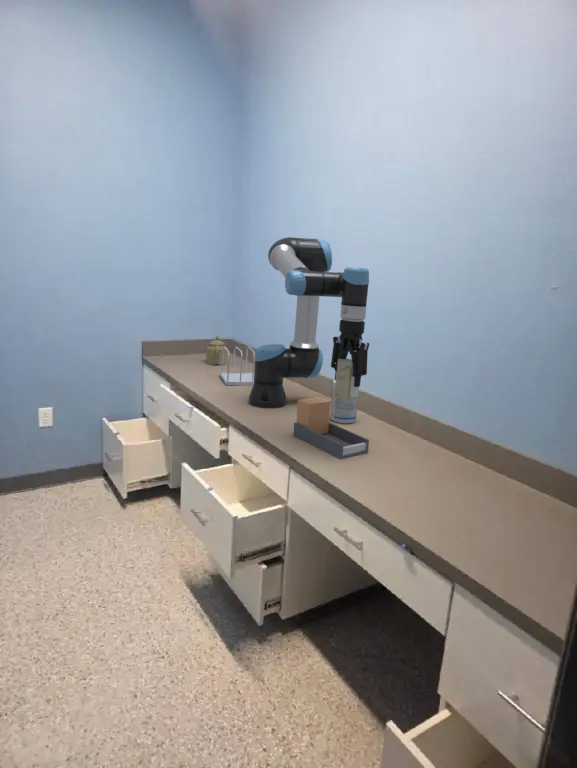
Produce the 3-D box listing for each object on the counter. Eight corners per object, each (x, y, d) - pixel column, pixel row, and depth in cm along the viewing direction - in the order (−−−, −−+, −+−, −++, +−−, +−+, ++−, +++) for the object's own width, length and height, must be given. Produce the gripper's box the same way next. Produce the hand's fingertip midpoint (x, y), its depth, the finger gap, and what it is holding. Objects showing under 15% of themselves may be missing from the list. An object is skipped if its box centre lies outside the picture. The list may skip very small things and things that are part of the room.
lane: (293, 434, 176) (294, 422, 175) (319, 430, 182) (320, 418, 181) (340, 459, 157) (342, 445, 156) (367, 452, 164) (369, 439, 163)
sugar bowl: (234, 365, 277) (235, 337, 274) (215, 367, 271) (216, 338, 267) (221, 360, 289) (221, 333, 285) (202, 361, 283) (203, 334, 279)
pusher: (295, 431, 176) (297, 399, 174) (317, 427, 182) (319, 396, 179) (306, 436, 172) (309, 404, 169) (328, 432, 177) (330, 401, 174)
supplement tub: (361, 422, 194) (364, 383, 190) (341, 425, 189) (344, 386, 185) (344, 415, 202) (347, 377, 198) (324, 418, 197) (327, 379, 193)
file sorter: (225, 386, 235) (226, 351, 231) (219, 377, 251) (220, 344, 247) (279, 385, 242) (281, 352, 238) (270, 376, 258) (271, 345, 255)
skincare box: (334, 396, 165) (336, 358, 162) (344, 395, 168) (347, 358, 165) (347, 401, 160) (350, 362, 158) (358, 400, 163) (361, 361, 160)
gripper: (322, 316, 164) (317, 388, 169) (366, 324, 149) (359, 402, 154) (340, 315, 168) (334, 386, 173) (384, 323, 153) (377, 400, 159)
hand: (346, 393), depth 164 cm, fingers closed on skincare box, 6 cm apart
